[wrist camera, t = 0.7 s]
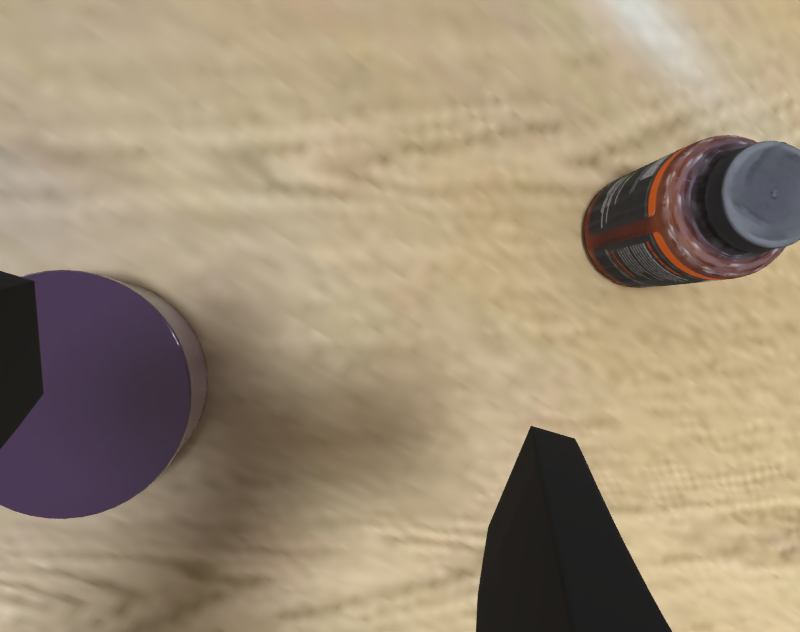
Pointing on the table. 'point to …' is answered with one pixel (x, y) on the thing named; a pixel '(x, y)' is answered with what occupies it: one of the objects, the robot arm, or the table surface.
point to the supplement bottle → (698, 214)
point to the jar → (102, 397)
